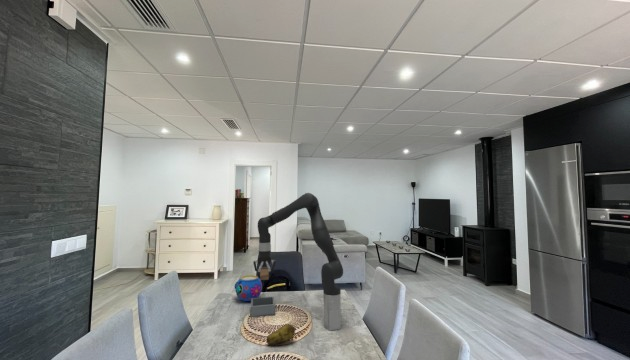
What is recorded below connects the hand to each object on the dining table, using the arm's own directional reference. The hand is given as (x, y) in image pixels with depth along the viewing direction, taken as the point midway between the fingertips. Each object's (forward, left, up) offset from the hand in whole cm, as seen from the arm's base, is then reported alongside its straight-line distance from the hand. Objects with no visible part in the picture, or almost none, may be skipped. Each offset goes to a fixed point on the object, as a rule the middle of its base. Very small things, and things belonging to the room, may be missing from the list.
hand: (264, 277), depth 163 cm
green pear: (-39, -7, -20) cm, 45 cm away
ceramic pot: (+21, +10, -20) cm, 31 cm away
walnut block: (0, 0, -1) cm, 1 cm away
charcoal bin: (-1, +1, -20) cm, 20 cm away
